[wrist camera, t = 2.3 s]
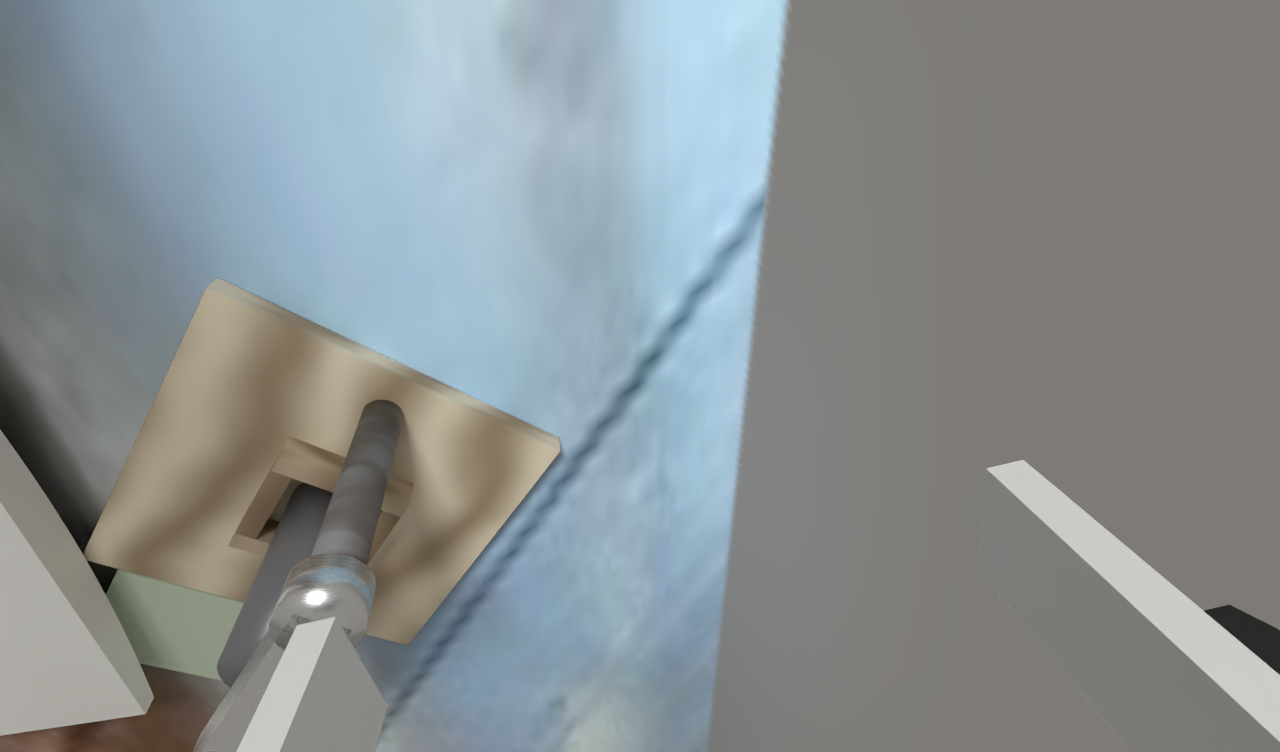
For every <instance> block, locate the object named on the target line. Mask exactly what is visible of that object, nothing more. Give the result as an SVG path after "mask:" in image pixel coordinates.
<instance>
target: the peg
mask: <svg viewBox="0 0 1280 752" xmlns="http://www.w3.org/2000/svg"><path fill="white" fill-rule="evenodd" d="M332 495H333V493H332V492H329V491H327V490H324V489H321V488H318V487H315V486H313V485H310V484H307V483H304V482H303V483H301V484H300V485H298V486H297V487H296V488H295V490H294V491H293V493H292V495H291V497H290V500H289V502H288V504H287V506H286V509H285V511H284V513H283V515H282V518H281V520H280V522H279V525H278V527H277V529H276V531H275V534H274V536H273V538H272V540H271V543H270V545H269V547H268V549H267V552H266V554H265V556H264V559H263V561H262V563H261V565H260V568H259V570H258V572H257V574H256V577H255V579H254V581H253V583H252V586H251V588H250V590H249V593H248V595H247V597H246V599H245V602H244V604H243V606H242V608H241V611H240V613H239V615H238V618H237V620H236V622H235V624H234V627H233V629H232V631H231V633H230V636H229V638H228V640H227V642H226V645H225V647H224V649H223V652H222V654H221V656H220V658H219V661H218V664H217V672H218V675H219V677H220V678H221V679H222V681H223V682H224V683H225V684H227V685H228V686H230V687H232V685H233V683H234V682H235V680H236V679H237V677H238V676H239V674H240V673H241V671H242V670H243V668H244V667H245V665H246V664H247V662H248V661H249V659H250V657H251V656H252V654H253V653H254V651H255V650H256V648H257V647H258V645H259V644H260V642H261V641H262V639H263V638H264V636H265V634H266V633H267V631H268V630H269V623H270V620H271V617H272V615H273V612H274V610H275V607H276V605H277V602H278V599H279V597H280V594H281V592H282V589H283V586H284V584H285V581H286V579H287V576H288V574H289V572H290V570H291V569H292V567H293V566H294V565H296V564H297V563H298V562H300V561H301V560H303V559H305V558H308V557H310V556H311V554H312V551H313V548H314V546H315V543H316V540H317V537H318V534H319V532H320V529H321V526H322V523H323V520H324V518H325V515H326V512H327V509H328V506H329V504H330V501H331V498H332Z"/></svg>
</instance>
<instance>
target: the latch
mask: <svg viewBox="0 0 1280 752" xmlns="http://www.w3.org/2000/svg"><path fill="white" fill-rule="evenodd" d="M375 589H376V578H375V575H374V573H373V572H372V570H371V569H370V568H369V567H368V566H367V565H366V564H365V563H363V562H361V561H360V560H358V559H356V558H353V557H350V556H346V555H341V554H319V555H314V556H310V557H308V558H305V559H303V560H301V561H300V562H298V563H297V564H296V565H294V566H293V567H292V569H291V570H290V572H289V574H288V576H287V579H286V581H285V584H284V586H283V589H282V592H281V594H280V597H279V599H278V602H277V605H276V607H275V610H274V612H273V615H272V617H271V620H270V623H269V630H268V631H267V633H266V634H265V636H264V638H263V639H262V641H261V642H260V644H259V645H258V647H257V648H256V650H255V651H254V653H253V654H252V656H251V657H250V659H249V661H248V662H247V664H246V665H245V667H244V668H243V670H242V671H241V673H240V674H239V676H238V677H237V679H236V680H235V682H234V683H233V685H232V687H231V688H230V690H229V691H228V693H227V694H226V696H225V697H224V699H223V700H222V702H221V703H220V705H219V706H218V708H217V710H216V711H215V713H214V714H213V716H212V717H211V719H210V720H209V722H208V723H207V725H206V726H205V728H204V729H203V731H202V733H201V734H200V736H199V738H198V741H197V743H196V745H195V748H194V750H193V752H237V749H238V747H239V745H240V743H241V741H242V739H243V737H244V735H245V733H246V731H247V729H248V726H249V724H250V722H251V720H252V718H253V716H254V714H255V712H256V710H257V708H258V706H259V703H260V701H261V699H262V697H263V695H264V693H265V691H266V689H267V687H268V685H269V683H270V680H271V678H272V676H273V674H274V672H275V670H276V668H277V666H278V664H279V662H280V660H281V657H282V655H283V653H284V651H285V649H286V647H287V645H288V643H289V641H290V639H291V637H292V634H293V632H294V630H295V628H296V626H297V625H301V624H305V623H310V622H314V621H319V620H323V619H327V618H332V617H336V618H337V620H338V622H339V623H340V625H341V627H342V628H343V630H344V632H345V634H346V635H347V637H348V639H349V640H350V642H351V644H352V646H353V647H354V648H355V647H356V646H357V645H359V643H360V642H361V641H362V640H363V638H364V636H365V632H366V628H367V624H368V619H369V615H370V610H371V606H372V602H373V597H374V593H375Z"/></svg>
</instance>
